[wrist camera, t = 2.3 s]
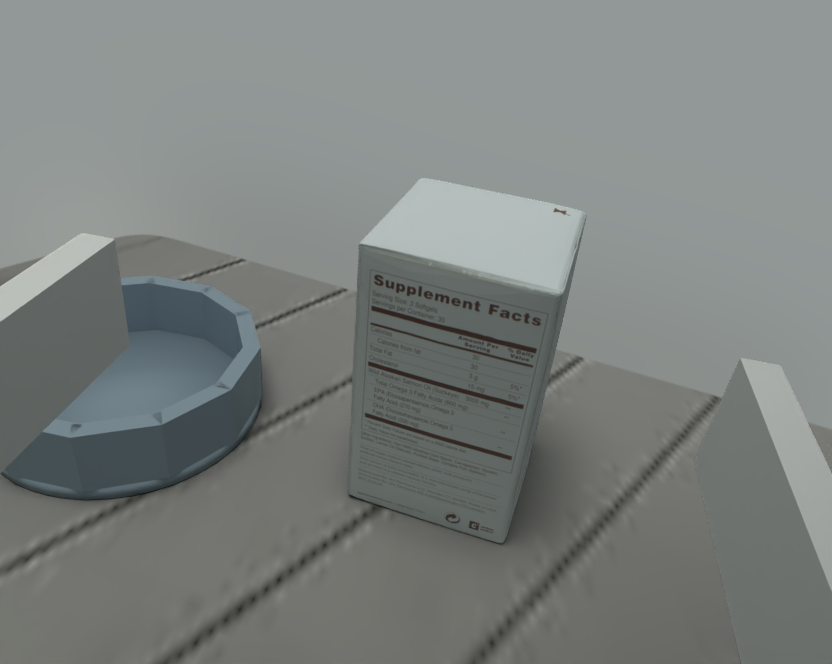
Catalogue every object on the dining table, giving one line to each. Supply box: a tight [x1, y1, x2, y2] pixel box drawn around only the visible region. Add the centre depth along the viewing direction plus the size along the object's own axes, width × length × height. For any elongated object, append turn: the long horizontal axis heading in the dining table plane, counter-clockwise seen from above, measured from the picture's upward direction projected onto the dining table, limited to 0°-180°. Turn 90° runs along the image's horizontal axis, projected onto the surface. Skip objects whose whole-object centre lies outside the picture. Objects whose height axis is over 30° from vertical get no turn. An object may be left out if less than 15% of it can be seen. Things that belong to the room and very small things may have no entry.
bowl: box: [1, 276, 263, 500], centre depth 33 cm, size 13×13×4 cm
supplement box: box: [348, 178, 587, 543], centre depth 29 cm, size 7×7×13 cm
